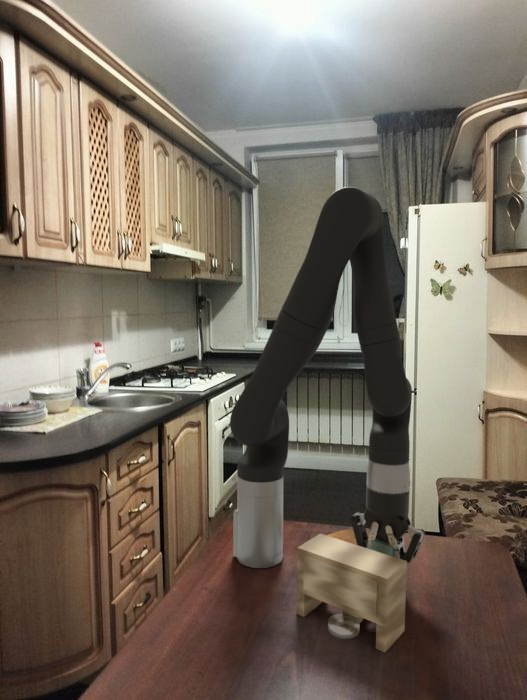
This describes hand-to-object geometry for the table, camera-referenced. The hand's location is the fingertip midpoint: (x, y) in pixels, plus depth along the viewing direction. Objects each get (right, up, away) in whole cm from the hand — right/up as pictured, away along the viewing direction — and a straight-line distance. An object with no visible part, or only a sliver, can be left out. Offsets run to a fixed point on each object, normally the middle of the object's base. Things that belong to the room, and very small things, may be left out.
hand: (385, 575), depth 99 cm
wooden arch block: (-8, -3, -10) cm, 13 cm away
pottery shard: (-3, -1, +17) cm, 17 cm away
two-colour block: (-3, -3, -4) cm, 6 cm away
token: (-9, -4, -12) cm, 16 cm away
